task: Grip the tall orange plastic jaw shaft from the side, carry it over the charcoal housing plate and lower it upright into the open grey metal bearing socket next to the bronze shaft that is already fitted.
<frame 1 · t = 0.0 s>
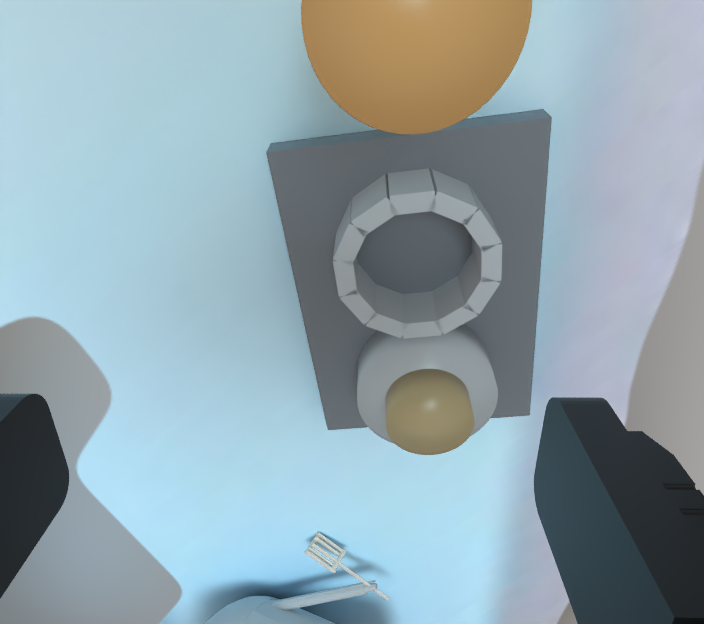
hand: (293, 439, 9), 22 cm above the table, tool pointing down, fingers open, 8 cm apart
housing: (416, 290, 33), on the table
satellite: (300, 606, 56), on the table
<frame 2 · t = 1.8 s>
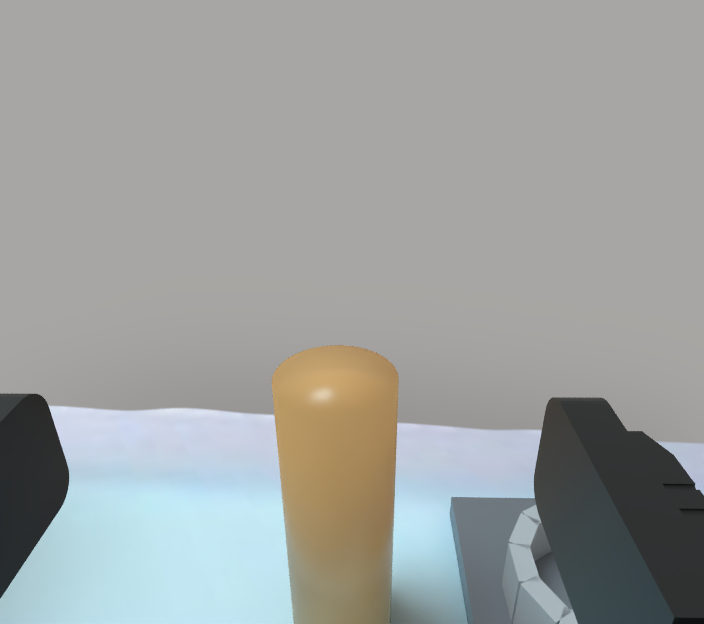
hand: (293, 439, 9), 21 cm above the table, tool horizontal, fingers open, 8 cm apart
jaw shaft: (342, 618, 28), on the table
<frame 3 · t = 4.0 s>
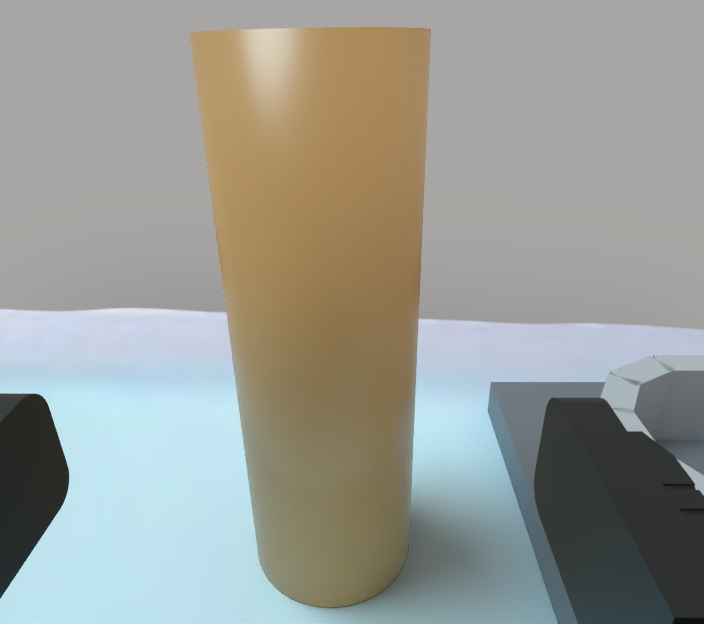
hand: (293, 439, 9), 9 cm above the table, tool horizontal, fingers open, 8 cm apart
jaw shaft: (333, 537, 18), on the table
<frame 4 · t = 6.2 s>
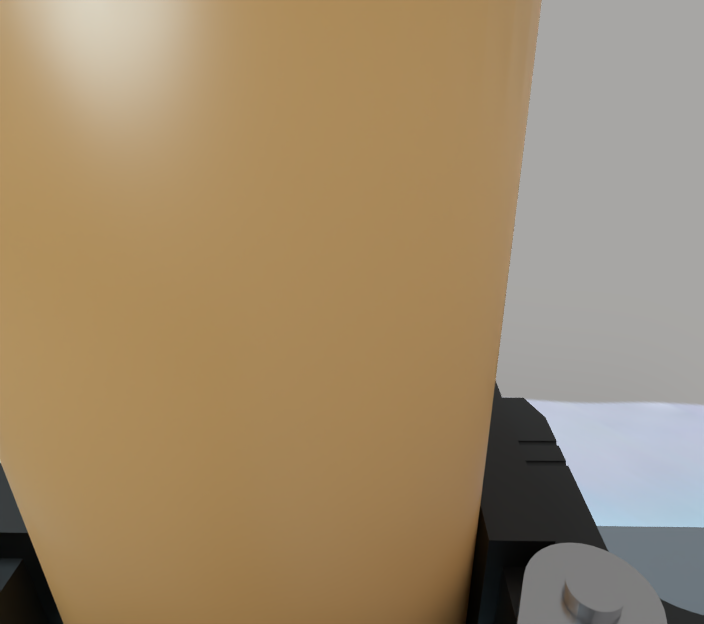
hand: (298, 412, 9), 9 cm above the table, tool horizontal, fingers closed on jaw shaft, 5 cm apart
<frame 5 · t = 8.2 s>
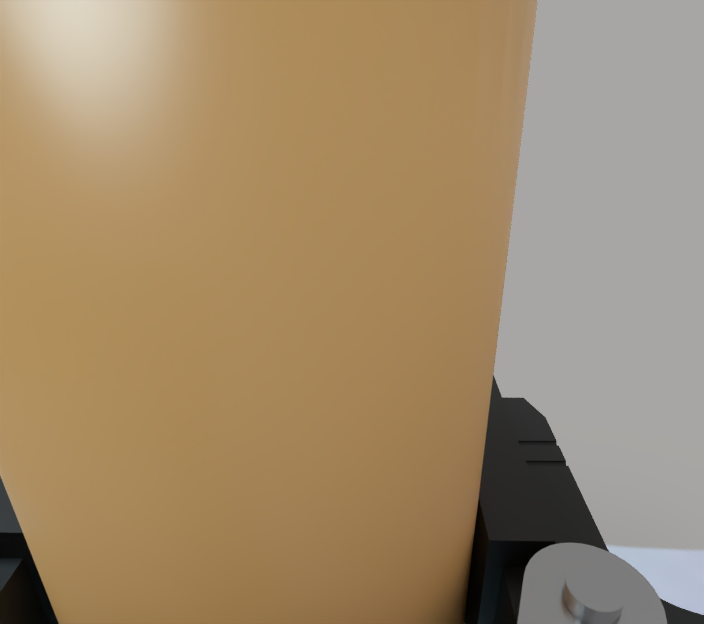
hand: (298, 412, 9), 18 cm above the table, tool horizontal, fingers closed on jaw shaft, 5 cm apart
when the fingers open (12 cm above the table, at t = 10.5 s): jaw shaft drops 1 cm, resting on housing.
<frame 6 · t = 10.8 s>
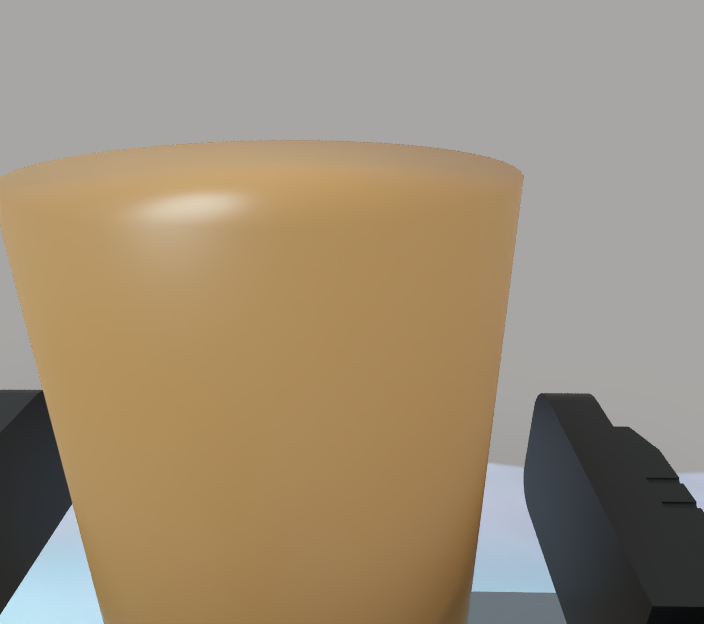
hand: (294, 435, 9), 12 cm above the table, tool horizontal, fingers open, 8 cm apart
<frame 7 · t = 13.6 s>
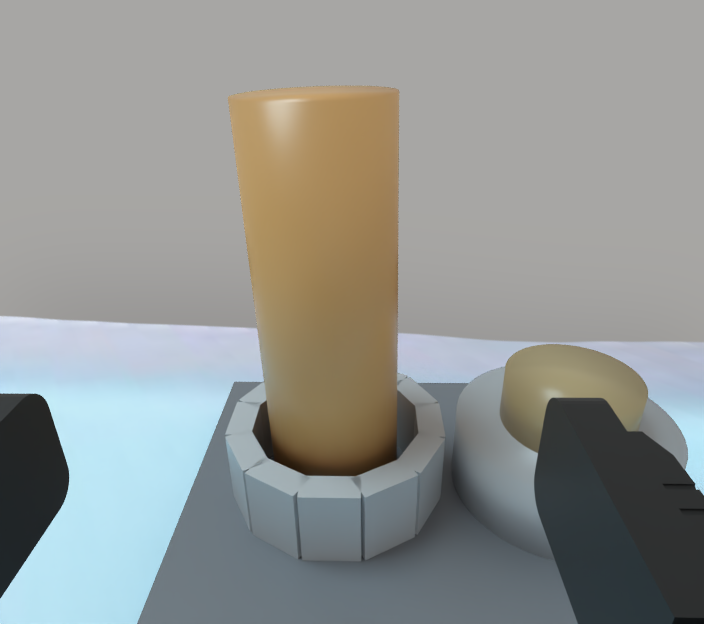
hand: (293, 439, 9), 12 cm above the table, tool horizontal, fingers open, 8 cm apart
housing: (431, 503, 23), on the table
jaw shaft: (337, 476, 23), point 2 cm above the table, touching housing
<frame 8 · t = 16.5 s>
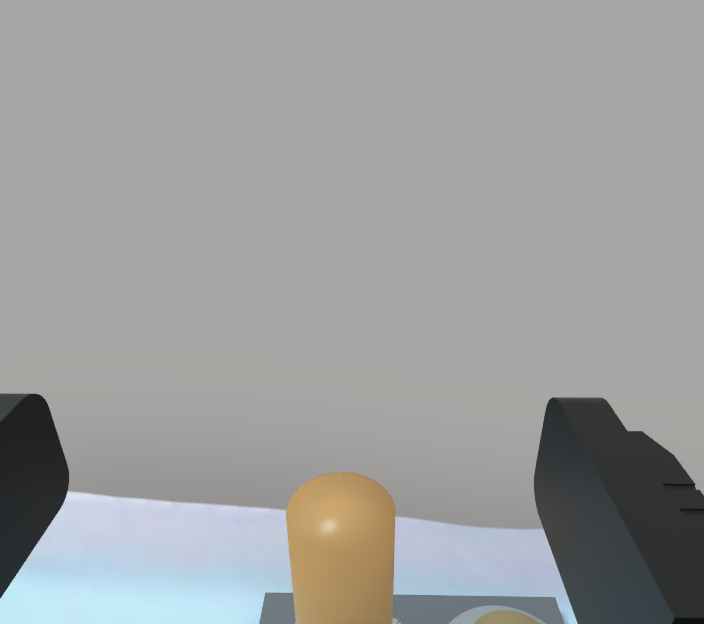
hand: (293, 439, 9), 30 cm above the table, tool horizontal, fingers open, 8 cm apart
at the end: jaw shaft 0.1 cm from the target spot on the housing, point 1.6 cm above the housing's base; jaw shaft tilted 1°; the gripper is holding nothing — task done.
